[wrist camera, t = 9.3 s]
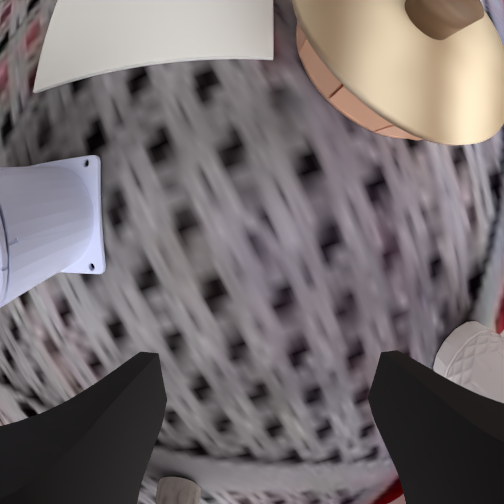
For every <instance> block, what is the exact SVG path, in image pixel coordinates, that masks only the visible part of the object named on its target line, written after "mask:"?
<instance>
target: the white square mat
mask: <svg viewBox="0 0 504 504" xmlns="http://www.w3.org/2000/svg"><path fill="white" fill-rule="evenodd" d="M216 59H259V60H273V0H58V1H57V4H56V6H55V9H54V12H53V15H52V18H51V21H50V24H49V27H48V30H47V34H46V37H45V40H44V44H43V48H42V52H41V56H40V60H39V64H38V69H37V74H36V79H35V84H34V90H33V92H34V93H39V92H42V91H45V90H48V89H51V88H54V87H57V86H60V85H63V84H66V83H70V82H73V81H77V80H80V79H84V78H88V77H92V76H96V75H100V74H105V73H109V72H114V71H119V70H124V69H130V68H136V67H142V66H148V65H156V64H164V63H172V62H183V61H196V60H216Z"/></svg>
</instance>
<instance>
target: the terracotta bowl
mask: <svg viewBox="0 0 504 504" xmlns="http://www.w3.org/2000/svg"><path fill="white" fill-rule="evenodd" d="M296 45H297V50H298V54H299V58H300V60H301V63H302V65H303V68H304V70H305V72H306V73H307V75H308V77H309V79H310V80H311V82H312V83H313V84H314V86H315V87H316V89H317V90H318V91H319V92H320V94H321V95H322V96H323V97H324V98H325V99H326V100H327V101H328V102H329V103H330V104H331V105H332V106H333V107H334V108H335V109H336V110H337V111H339V112H340V113H341V114H342V115H344V116H345V117H346V118H348V119H349V120H351V121H352V122H354V123H355V124H357V125H359V126H361V127H363V128H365V129H367V130H369V131H371V132H374V133H377V134H379V135H383V136H387V137H391V138H399V139H413V140H423V139H421V138H418V137H416V136H413V135H411V134H409V133H407V132H405V131H403V130H401V129H399V128H397V127H396V126H394V125H392V124H391V123H389V122H388V121H386V120H385V119H383V118H382V117H380V116H379V115H377V114H376V113H375V112H374V111H372V110H371V109H370V108H368V107H367V106H366V105H364V104H363V103H362V102H361V101H360V100H359V99H358V98H356V97H355V96H354V95H353V94H352V93H351V92H350V91H349V90H347V89H346V88H345V87H344V85H343V84H342V83H341V82H340V81H339V80H338V79H337V78H336V77H335V76H334V75H333V74H332V73H331V72H330V70H329V69H328V68H327V67H326V66H325V64H324V63H323V62H322V61H321V60H320V58H319V57H318V55H317V54H316V52H315V51H314V50H313V48H312V47H311V45H310V44H309V42H308V40H307V39H306V37H305V35H304V33H303V31H302V29H301V28H300V25H299V23H298V20H297V26H296Z"/></svg>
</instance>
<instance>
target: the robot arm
mask: <svg viewBox="0 0 504 504" xmlns="http://www.w3.org/2000/svg"><path fill="white" fill-rule="evenodd" d="M87 160H88V161H89V165H88V166H86V161H87ZM91 263H92V264H93V265H94V266H95V269H93V268H92V266H91ZM105 269H106V263H105V254H104V243H103V230H102V214H101V161H100V158H99V157H98V156H97V155H89V156H82V157H75V158H69V159H63V160H57V161H52V162H46V163H41V164H36V165H31V166H27V167H0V308H1V307H3V306H4V305H6V304H7V303H9V302H10V301H12V300H13V299H15V298H17V297H18V296H20V295H21V294H23V293H25V292H26V291H28V290H29V289H31V288H33V287H34V286H36V285H38V284H39V283H41V282H43V281H44V280H46V279H48V278H50V277H51V276H53V275H55V274H56V273H58V272H68V273H87V274H101V273H103V272H104V271H105ZM368 400H369V404H370V407H371V411H372V414H373V417H374V421H375V423H376V425H377V428H378V430H379V432H380V434H381V436H382V439H383V441H384V443H385V445H386V447H387V450H388V452H389V454H390V456H391V458H392V461H393V463H394V465H395V467H396V470H397V473H398V475H399V478H400V481H401V485H402V489H403V493H404V496H405V501H406V504H504V403H501V402H498V401H495V400H493V399H490V398H487V397H485V396H482V395H479V394H477V393H475V392H472V391H470V390H468V389H466V388H464V387H462V386H460V385H458V384H456V383H454V382H452V381H451V380H449V379H447V378H445V377H443V376H441V375H440V374H438V373H436V372H434V371H433V370H431V369H429V368H428V367H426V366H424V365H423V364H421V363H419V362H417V361H416V360H414V359H412V358H410V357H409V356H407V355H405V354H403V353H401V352H399V351H389V352H381V355H380V359H379V363H378V366H377V370H376V373H375V376H374V380H373V383H372V386H371V389H370V393H369V396H368ZM166 403H167V397H166V393H165V388H164V382H163V377H162V372H161V366H160V360H159V354H158V353H148V352H140V353H138V354H136V355H135V356H134V357H132V358H131V359H129V360H128V361H127V362H125V363H124V364H122V365H121V366H120V367H118V368H117V369H116V370H114V371H113V372H111V373H110V374H109V375H107V376H106V377H104V378H103V379H101V380H100V381H99V382H97V383H96V384H94V385H92V386H91V387H89V388H88V389H86V390H84V391H83V392H81V393H80V394H78V395H76V396H75V397H73V398H71V399H70V400H68V401H66V402H64V403H62V404H60V405H58V406H56V407H54V408H52V409H50V410H47V411H45V412H43V413H40V414H38V415H35V416H32V417H29V418H26V419H24V420H21V421H18V422H15V423H11V424H7V425H3V426H0V504H137V500H138V495H139V490H140V486H141V482H142V479H143V476H144V473H145V470H146V467H147V464H148V462H149V459H150V456H151V453H152V451H153V448H154V445H155V442H156V440H157V437H158V434H159V431H160V428H161V426H162V422H163V417H164V413H165V408H166Z"/></svg>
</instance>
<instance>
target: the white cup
mask: <svg viewBox="0 0 504 504" xmlns="http://www.w3.org/2000/svg"><path fill="white" fill-rule="evenodd" d="M433 370H434V372H436V373H438V374H440V375H441V376H443V377H445V378H447V379H449V380H451V381H452V382H454V383H456V384H458V385H460V386H462V387H464V388H466V389H468V390H470V391H472V392H475V393H477V394H479V395H482V396H485V397H487V398H490V399H493V400H495V401H498V402H501V403H504V337H503V336H501V335H499V334H498V333H494V332H492V331H491V330H489V329H488V328H486V327H485V326H483V325H482V324H480V323H479V322H477V321H471V322H466V323H464V324H462V325H461V326H459V327H457V328H456V329H455V330H454V331H453V332H452V333H451V334H450V335H449V336H448V337H447V338H446V339H445V340H444V342H443V344H442V346H441V347H440V349H439V351H438V353H437V354H436V358H435V362H434V366H433Z"/></svg>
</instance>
